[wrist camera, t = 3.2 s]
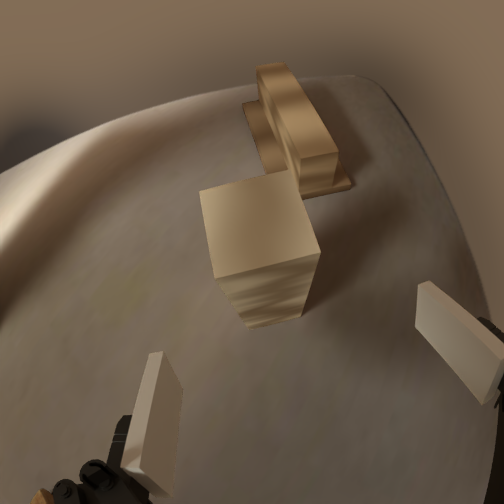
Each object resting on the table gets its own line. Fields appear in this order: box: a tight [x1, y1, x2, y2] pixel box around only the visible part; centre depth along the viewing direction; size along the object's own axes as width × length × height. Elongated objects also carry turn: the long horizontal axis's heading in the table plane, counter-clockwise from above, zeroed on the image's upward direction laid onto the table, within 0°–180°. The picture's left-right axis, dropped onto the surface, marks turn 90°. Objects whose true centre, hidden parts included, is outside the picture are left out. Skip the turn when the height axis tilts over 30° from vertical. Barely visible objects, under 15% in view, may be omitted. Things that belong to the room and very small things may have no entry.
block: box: [199, 170, 321, 330], centre depth 19 cm, size 4×4×14 cm
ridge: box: [242, 62, 351, 200], centre depth 30 cm, size 16×8×6 cm, turn 13°
